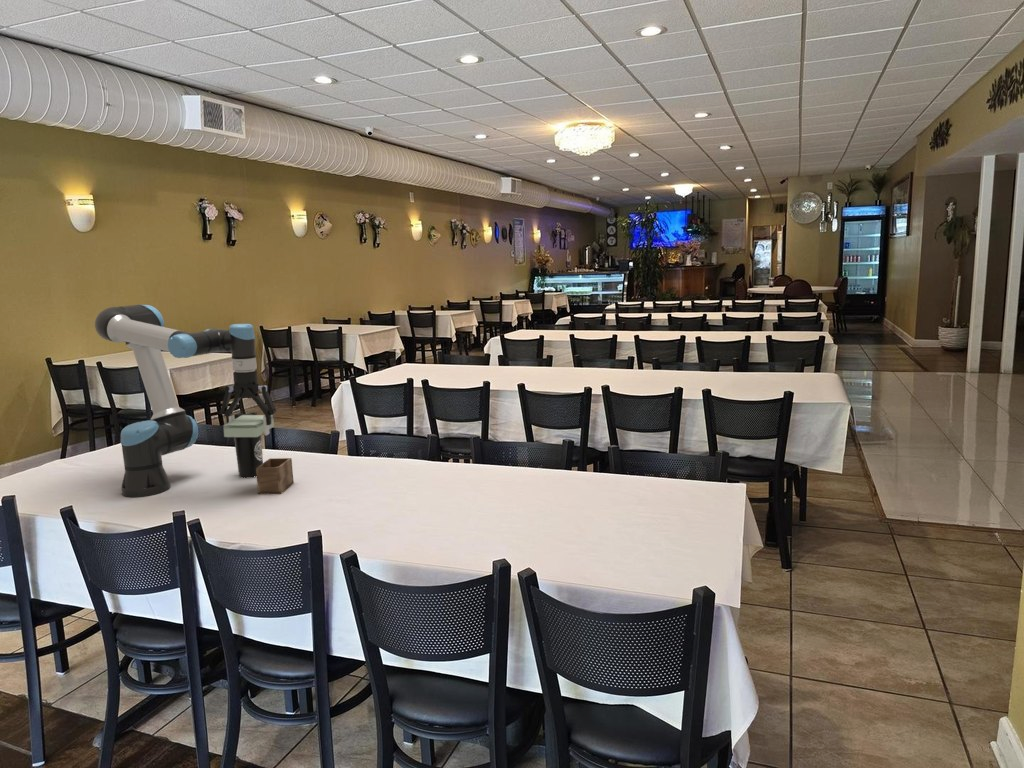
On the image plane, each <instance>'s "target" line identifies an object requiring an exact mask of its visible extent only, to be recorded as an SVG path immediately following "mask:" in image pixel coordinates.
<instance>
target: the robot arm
mask: <svg viewBox="0 0 1024 768" xmlns="http://www.w3.org/2000/svg"><path fill="white" fill-rule="evenodd" d="M163 317H164V316H162V313H161V312H160V311H159V310H158V309H157V308H156V307H154V306H152V305H150V304H133V305H123V306H111V307H108V308H104V309H103V310H102V311H100V312H99V313H98V314H97V316H96V317H95V320H94V328H95V331H96V333H97V335H99V337H101V338H102V339H104V340H106V341H110V342H114V343H119V344H120V343H125V346H126V347H127V348H128V349H131V350H132V352H133V355H134V358H135V361H136V364H137V367H138V370H139V373H140V376H141V380H142V382H143V386H144V389H145V391H146V395H147V397H148V402H149V404H150V407H151V411H152V415H151V418H150V420H142V421H137V422H134V423H131V424H128V425H126V426H125V427H124V428H122V430H121V431H120V444H121V451H122V457H123V459H122V460H123V466H124V475H123V479H122V484H121V494H122V496H123V497H124V496H125V497H130V498H131V497H132V498H138V497H147V496H153V495H157V494H161V493H163V492H165V491H168V490H169V489H170V488H171V480H170V478H169V476H168V473H167V472H166V470H165V468H164V465H163V460H162V458H163V457H162V456H165V455H169V454H172V453H174V452H179V451H183V450H185V449H187V448H190V447H192V445H194V444H195V443H196V441H197V439H198V435H199V427H198V423H197V422H196V420H195V418H193V417H192V416H190V415H187V413H186V410H185V409H183V408H182V407H180V406H179V403H178V400H177V397H176V394H175V391H174V387H173V384H172V382H171V379H170V376H169V372H168V368H167V365H166V363H165V360H164V359H165V358H164V356H163V353H162V351H164V352H169V354H171V355H172V356H173V357H174V358H177V359H187V358H188V359H189V358H192V357H198V356H202V355H209V354H215V353H220V352H221V353H231V359H232V360H231V361H232V370H233V372H232V375H233V382H234V383H233V384H234V385H230V384H228V385H226V386H225V387H224V395H223V400H222V402H221V403H222V404H221V407H220V411H219V414H220V415H224V416H225V418H226V420H225V421H226V424H227V423H228V422H230V421H232V420H234V419H235V418H234V415H235V414H233V412H234V411H235V409H236V407H237V406H238V404H239V402H240V400H241V399H246V398H247V399H252V400H253V401H254V402H255V403H256V405H257V406H258V407H259V409H260V410H261V411H262V413H263V415H265V416H263V421H264V433H263V435H264V436H268V435H269V434H270V429H269V425H270V424H271V415H274V414H276V413H277V408H276V406H275V404H274V401H273V399H272V397H271V395H270V392H269V386H268V385H267V384H266V385H259V383H258V382H259V379H258V378H259V377H258V371H257V368H258V365H257V354H256V336H255V329H254V326H253V324H250V323H235V324H234V323H233V324H231V325H229V329H223V328H222V329H221V328H207V329H205V330H203V331H196V332H195V331H193V332H188V331H187V332H186V331H183V330H179V329H175V328H169V327H165V321H164V318H163ZM258 391H260V393H261V395H262V397H263V399H262V398H261V396H260V394H259V393H258ZM232 392H235V393H236V394H235V396H234V398H233V400H232V401H231V404H230V405H229V403H230V400H231V396H232V394H233V393H232ZM263 400H264V401H265V402H264V401H263Z"/></svg>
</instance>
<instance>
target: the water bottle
mask: <svg viewBox="0 0 1024 768" xmlns="http://www.w3.org/2000/svg"><path fill="white" fill-rule="evenodd" d="M233 415H234V418H235V419H236V418H238V417H240V416H241V415H258V412H255V411H253V412H249V413H248V412H247V413H244V414H243V413H242V412H237V413H235V414H233ZM233 439H234V449H235V453H236V454H235V455H236V461H237V471H238V476H240V477H239V478H241V477H243V478H244V477H245V478H244V479H248V478H247V477H252V478H255V477H254V476H257V475H256V468H257V467H258V466H260V465H261V464H263V463H264V460H263V458H264V457H263V455H264V454H263V441H262V440H263V439H262V434H261V435H260V436H258V437H233ZM243 478H242V479H243Z"/></svg>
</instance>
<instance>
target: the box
mask: <svg viewBox="0 0 1024 768" xmlns="http://www.w3.org/2000/svg"><path fill="white" fill-rule="evenodd" d="M292 461H293V460H292V458H291V457H290V458H289V457H288V458H287V457H283V458H280V457H279V458H277V457H276V458H268V459H267V460H266V461H263V464H261V465H260V466H258V467H257V468H256V475H257V477H256V481H257V482H256V485H257V493H258V494H257V495H281V494H284V492H286V490H287V489H288V488H290V487H291V486H292V485H293V484H294V483H295V482H294V472H293V471H294V470H293V462H292Z"/></svg>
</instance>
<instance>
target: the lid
mask: <svg viewBox="0 0 1024 768" xmlns="http://www.w3.org/2000/svg"><path fill="white" fill-rule="evenodd" d="M263 416H265V414H257V415H243V414H242V415H241V416H240V417H238V418H236V419H234V420H232V421H230V422H228V423H227V422H226V423H225V424H223V425H222V426H223V437H224V438H234V437H258V436H260V435H261V436H262V435H264V421H263ZM274 427H275V420H274V414H272V415H271V424H270V425H269V430H271V429H272V428H274Z"/></svg>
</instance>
